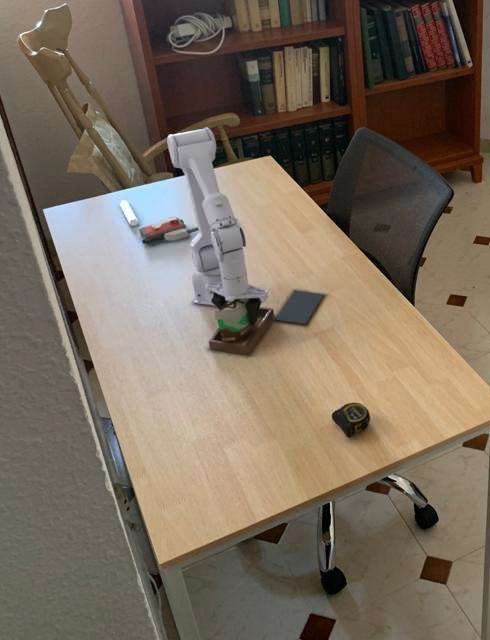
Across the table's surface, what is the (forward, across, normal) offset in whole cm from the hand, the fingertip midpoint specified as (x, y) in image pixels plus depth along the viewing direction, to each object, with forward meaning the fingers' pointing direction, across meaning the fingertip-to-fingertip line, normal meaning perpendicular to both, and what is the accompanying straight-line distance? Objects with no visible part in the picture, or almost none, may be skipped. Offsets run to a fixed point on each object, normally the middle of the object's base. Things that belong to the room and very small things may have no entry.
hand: (241, 321), depth 187 cm
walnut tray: (+3, 0, 0) cm, 3 cm away
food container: (+4, 0, 0) cm, 4 cm away
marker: (+4, -59, +46) cm, 75 cm away
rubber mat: (+3, +9, +13) cm, 16 cm away
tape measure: (+3, +35, -25) cm, 43 cm away
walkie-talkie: (+1, -39, +39) cm, 55 cm away
